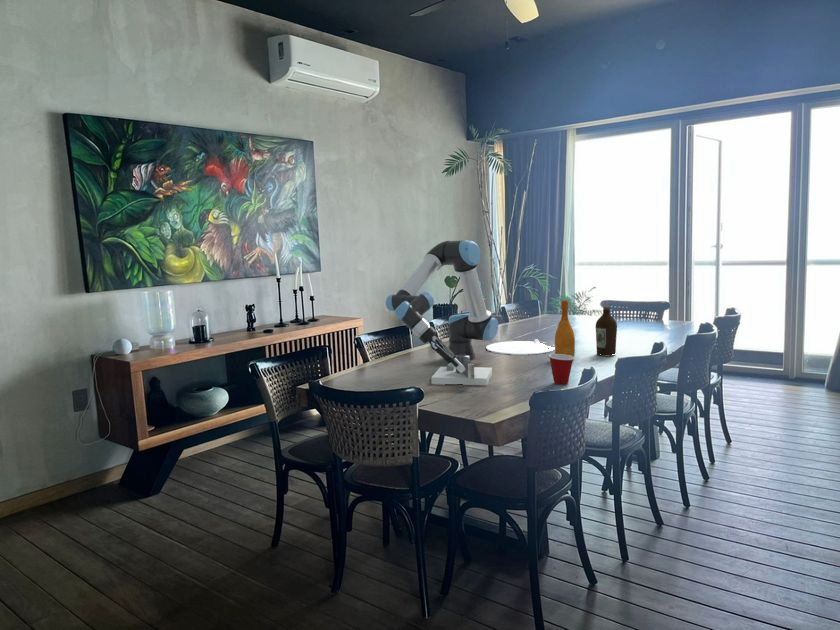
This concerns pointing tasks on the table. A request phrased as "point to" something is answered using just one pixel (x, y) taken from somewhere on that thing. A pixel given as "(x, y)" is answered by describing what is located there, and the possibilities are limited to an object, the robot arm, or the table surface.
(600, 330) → the olive oil
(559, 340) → the wine bottle
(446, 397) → the table surface
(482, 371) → the instrument base
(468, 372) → the dark grey lever
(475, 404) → the table surface
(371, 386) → the table surface
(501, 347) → the lazy susan
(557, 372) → the plastic cup
